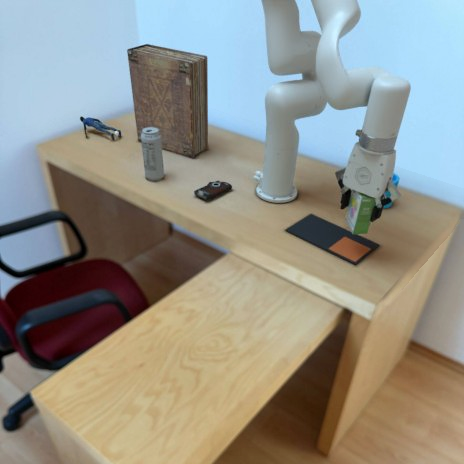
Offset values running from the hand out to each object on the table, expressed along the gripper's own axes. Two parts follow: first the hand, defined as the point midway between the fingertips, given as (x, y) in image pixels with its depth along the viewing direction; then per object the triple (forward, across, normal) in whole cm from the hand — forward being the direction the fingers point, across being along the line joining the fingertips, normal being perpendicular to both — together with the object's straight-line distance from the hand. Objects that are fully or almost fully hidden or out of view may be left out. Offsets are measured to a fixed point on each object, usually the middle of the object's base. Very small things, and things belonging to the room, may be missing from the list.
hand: (359, 213), depth 106 cm
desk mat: (+11, -7, +2) cm, 13 cm away
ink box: (+4, 0, 0) cm, 4 cm away
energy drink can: (+11, -67, -10) cm, 68 cm away
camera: (+11, -46, -4) cm, 48 cm away
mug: (+11, -9, +30) cm, 34 cm away
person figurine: (+11, -108, -2) cm, 108 cm away
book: (+11, -82, +12) cm, 83 cm away
